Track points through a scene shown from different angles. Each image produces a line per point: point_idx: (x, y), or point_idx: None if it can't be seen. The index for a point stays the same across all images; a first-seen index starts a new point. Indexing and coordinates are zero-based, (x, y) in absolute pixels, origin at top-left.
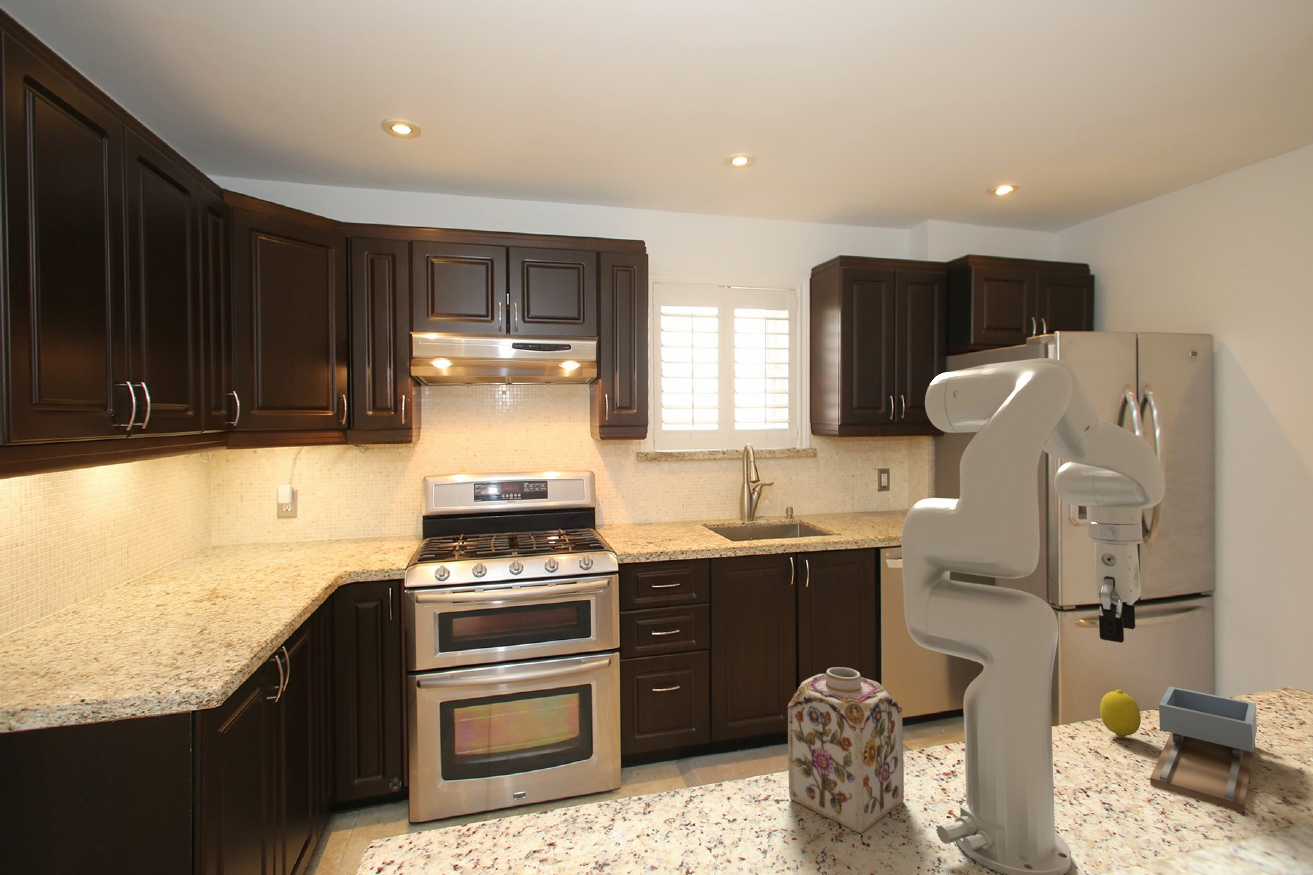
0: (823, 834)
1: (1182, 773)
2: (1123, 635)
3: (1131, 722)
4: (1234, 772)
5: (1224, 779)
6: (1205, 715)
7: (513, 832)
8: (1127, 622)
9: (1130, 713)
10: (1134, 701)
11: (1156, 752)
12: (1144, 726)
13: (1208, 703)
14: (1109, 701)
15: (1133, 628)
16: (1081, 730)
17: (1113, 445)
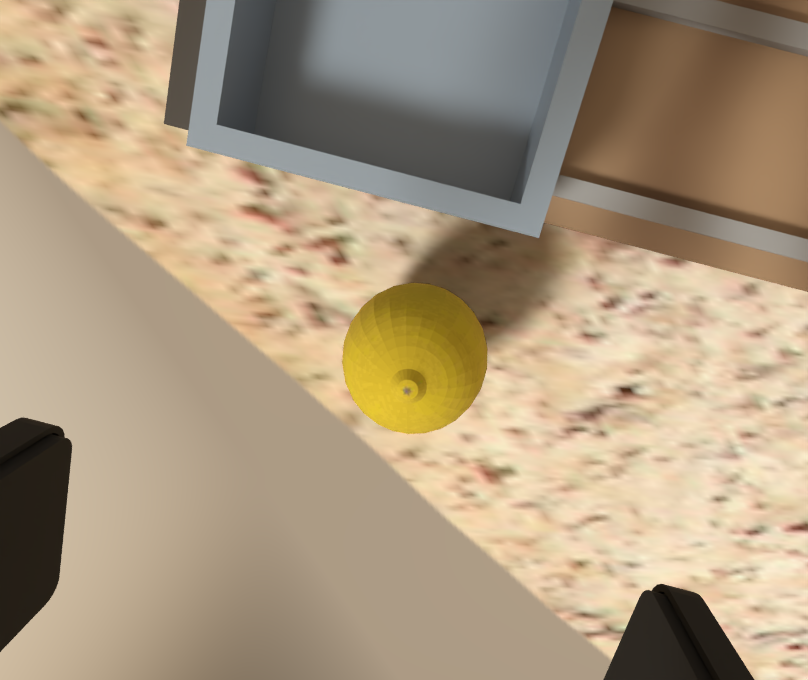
0: None
1: (733, 186)
2: (716, 636)
3: (478, 321)
4: (693, 6)
5: (728, 53)
6: (602, 33)
7: None
8: (22, 514)
9: (476, 332)
10: (423, 320)
11: (501, 234)
12: (258, 241)
13: None
14: (456, 415)
15: (62, 433)
16: (416, 441)
17: None
